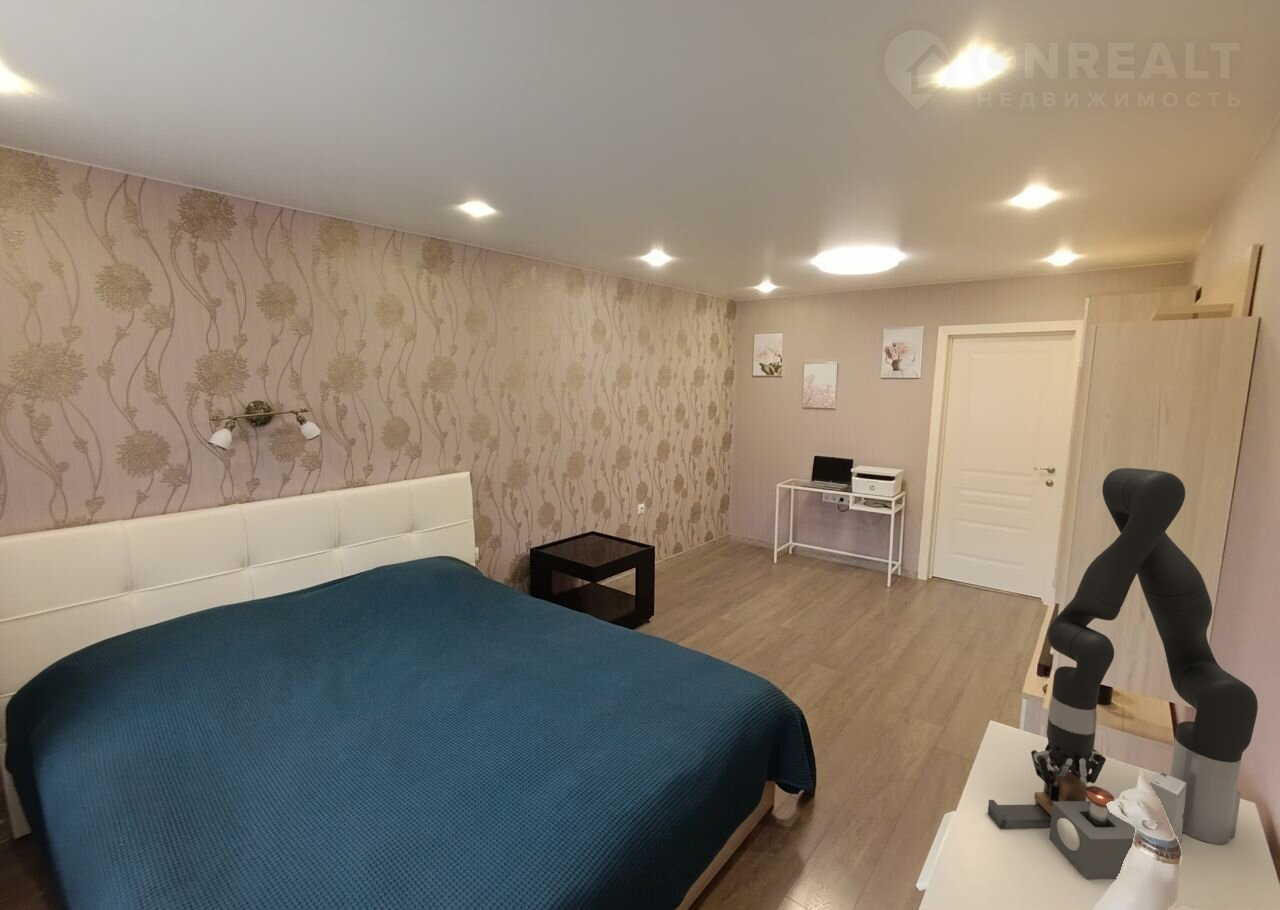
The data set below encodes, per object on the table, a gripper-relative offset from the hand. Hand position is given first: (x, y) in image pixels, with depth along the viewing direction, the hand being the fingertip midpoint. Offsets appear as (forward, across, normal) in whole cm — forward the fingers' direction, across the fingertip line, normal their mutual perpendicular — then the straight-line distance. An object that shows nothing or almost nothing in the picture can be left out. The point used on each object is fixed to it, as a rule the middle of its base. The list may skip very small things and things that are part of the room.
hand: (1063, 799), depth 113 cm
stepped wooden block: (+4, 0, 0) cm, 4 cm away
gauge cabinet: (+5, +1, +9) cm, 10 cm away
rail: (+5, +4, 0) cm, 6 cm away
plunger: (-1, +1, +9) cm, 9 cm away
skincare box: (+5, -16, +5) cm, 17 cm away
